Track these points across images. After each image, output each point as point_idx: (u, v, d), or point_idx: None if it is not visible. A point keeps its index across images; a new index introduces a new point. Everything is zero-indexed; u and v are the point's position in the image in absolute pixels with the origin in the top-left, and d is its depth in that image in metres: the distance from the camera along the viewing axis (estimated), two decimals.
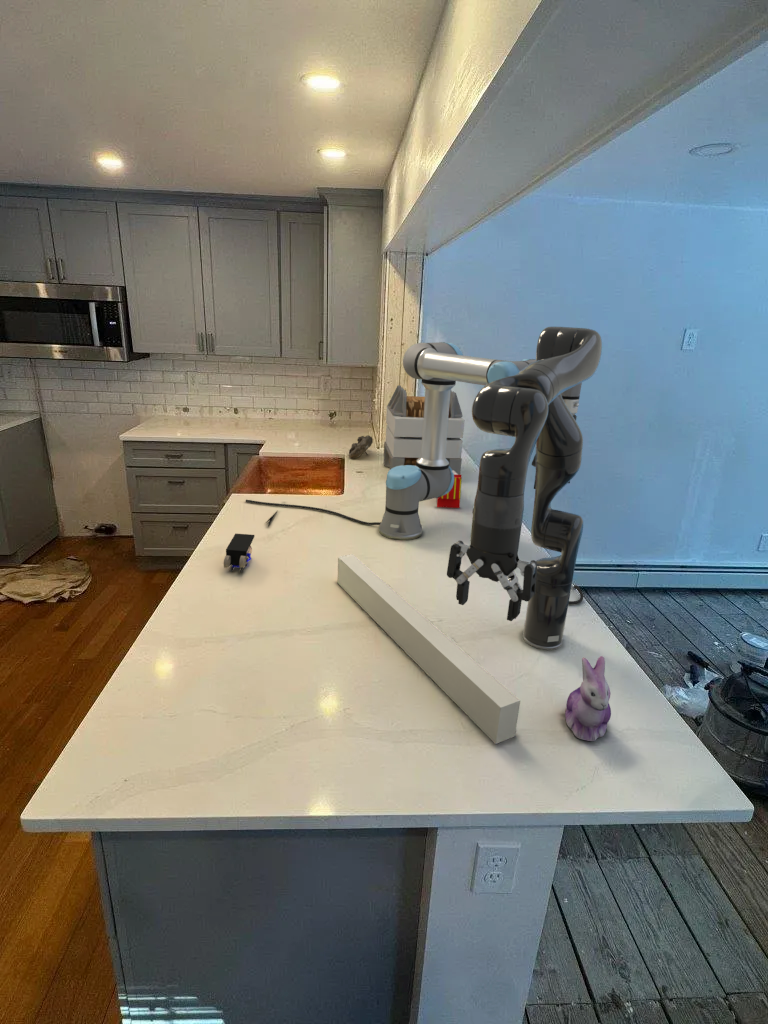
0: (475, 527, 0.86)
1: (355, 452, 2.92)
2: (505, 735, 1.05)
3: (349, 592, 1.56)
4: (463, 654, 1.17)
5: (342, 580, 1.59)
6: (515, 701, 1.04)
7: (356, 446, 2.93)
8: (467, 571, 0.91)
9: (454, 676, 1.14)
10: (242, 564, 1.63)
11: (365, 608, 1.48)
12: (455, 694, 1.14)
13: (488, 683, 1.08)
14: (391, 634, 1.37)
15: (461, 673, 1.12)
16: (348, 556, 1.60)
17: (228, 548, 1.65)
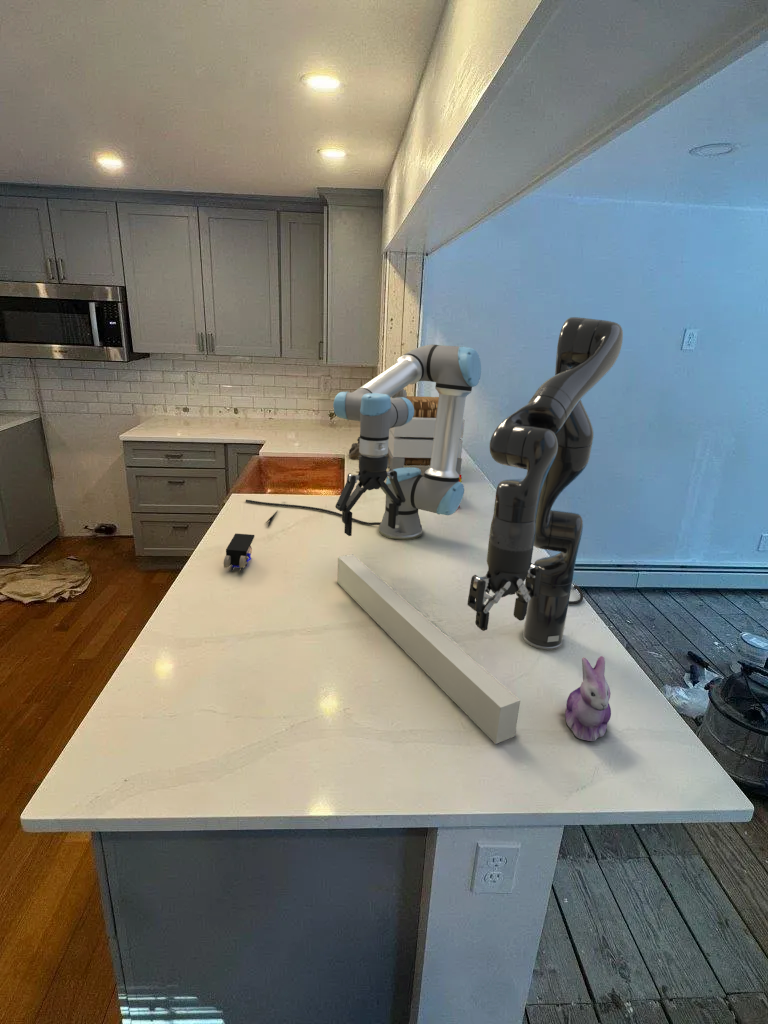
0: None
1: (355, 452, 2.92)
2: (505, 735, 1.05)
3: (349, 592, 1.56)
4: (463, 654, 1.17)
5: (342, 580, 1.59)
6: (515, 701, 1.04)
7: (356, 446, 2.93)
8: None
9: (454, 676, 1.14)
10: (242, 564, 1.63)
11: (365, 608, 1.48)
12: (455, 694, 1.14)
13: (488, 683, 1.08)
14: (391, 634, 1.37)
15: (461, 673, 1.12)
16: (348, 556, 1.60)
17: (228, 548, 1.65)
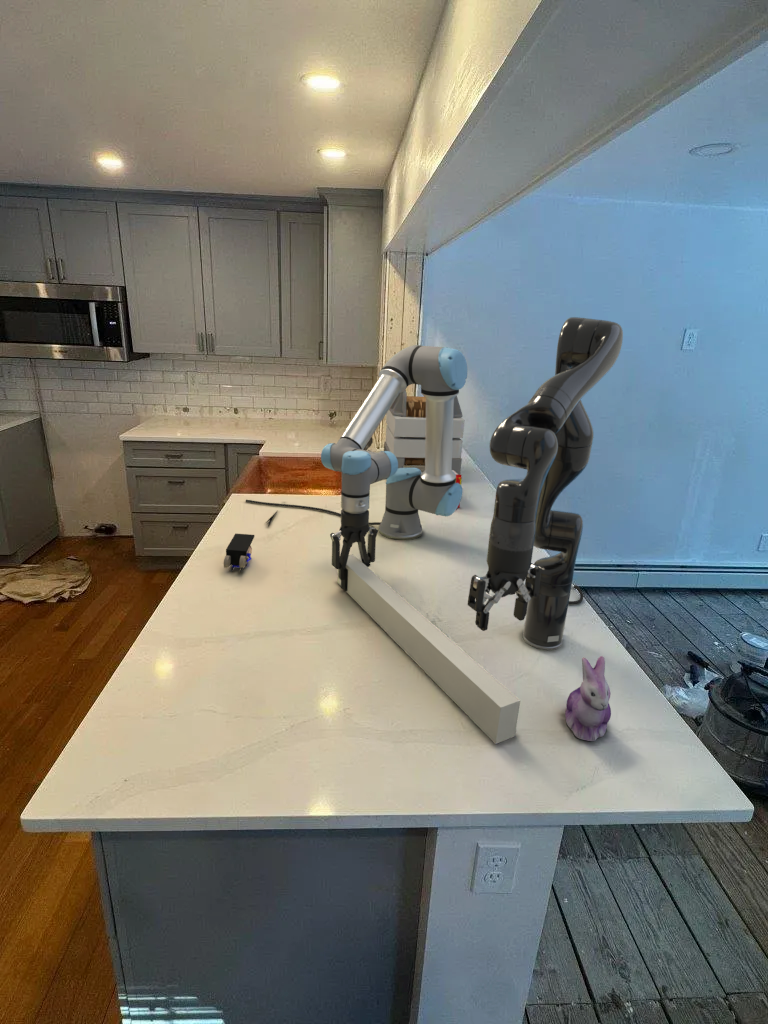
0: None
1: None
2: (505, 735, 1.05)
3: (349, 592, 1.56)
4: (463, 654, 1.17)
5: None
6: (515, 701, 1.04)
7: None
8: None
9: (454, 676, 1.14)
10: (242, 564, 1.63)
11: (365, 608, 1.48)
12: (455, 694, 1.14)
13: (488, 683, 1.08)
14: (391, 634, 1.37)
15: (461, 673, 1.12)
16: (348, 556, 1.60)
17: (228, 548, 1.65)
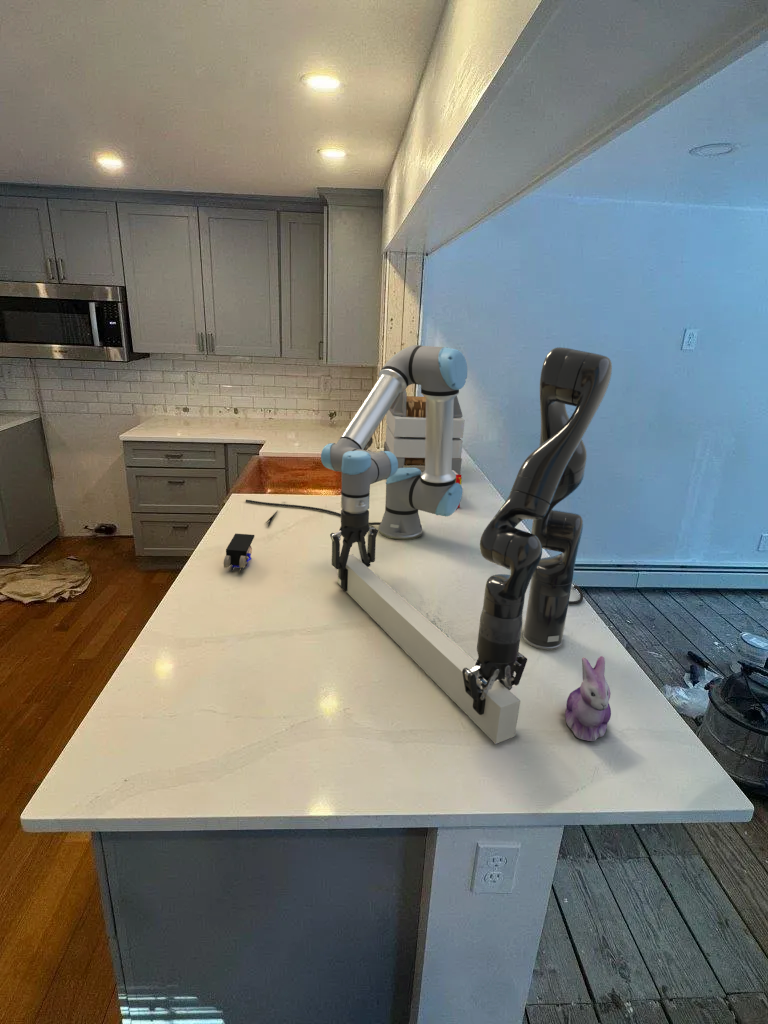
0: None
1: None
2: (505, 735, 1.05)
3: (349, 592, 1.56)
4: (463, 654, 1.17)
5: None
6: (515, 701, 1.04)
7: None
8: None
9: (454, 676, 1.14)
10: (242, 564, 1.63)
11: (365, 608, 1.48)
12: (455, 694, 1.14)
13: None
14: (391, 634, 1.37)
15: (461, 673, 1.12)
16: (348, 556, 1.60)
17: (228, 548, 1.65)
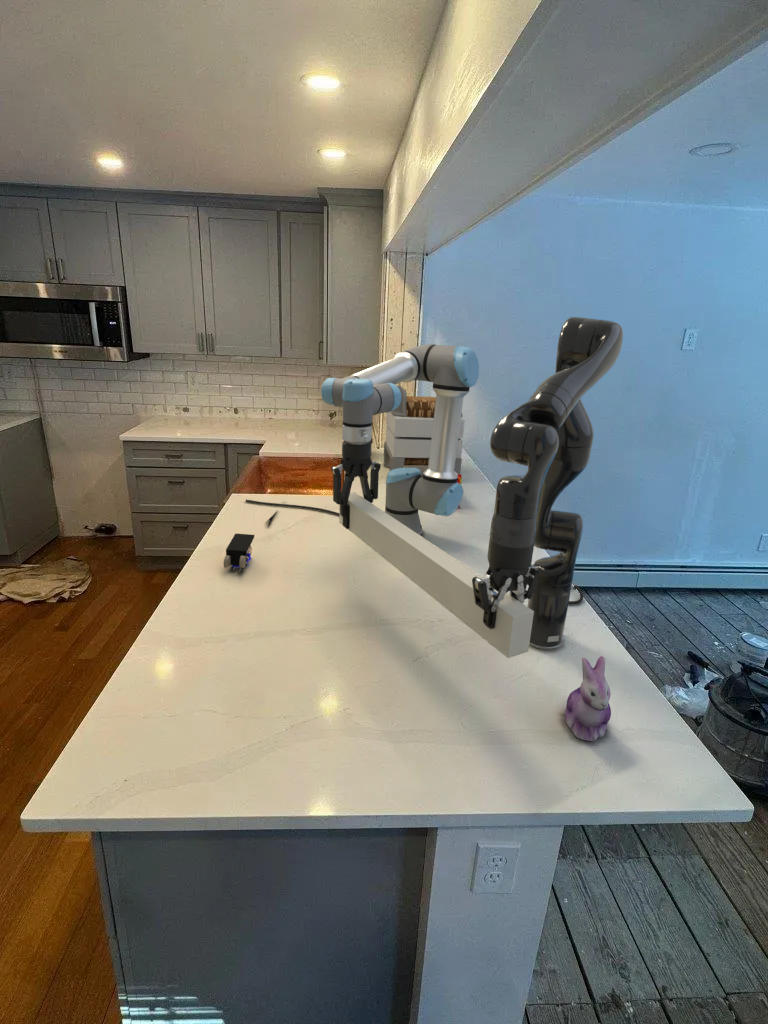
0: None
1: None
2: (518, 649, 0.99)
3: (352, 529, 1.50)
4: (472, 573, 1.11)
5: None
6: (528, 612, 0.98)
7: None
8: None
9: (463, 594, 1.08)
10: (242, 564, 1.63)
11: (368, 542, 1.42)
12: (464, 613, 1.09)
13: None
14: (395, 564, 1.31)
15: (470, 589, 1.06)
16: (350, 494, 1.54)
17: (228, 548, 1.65)
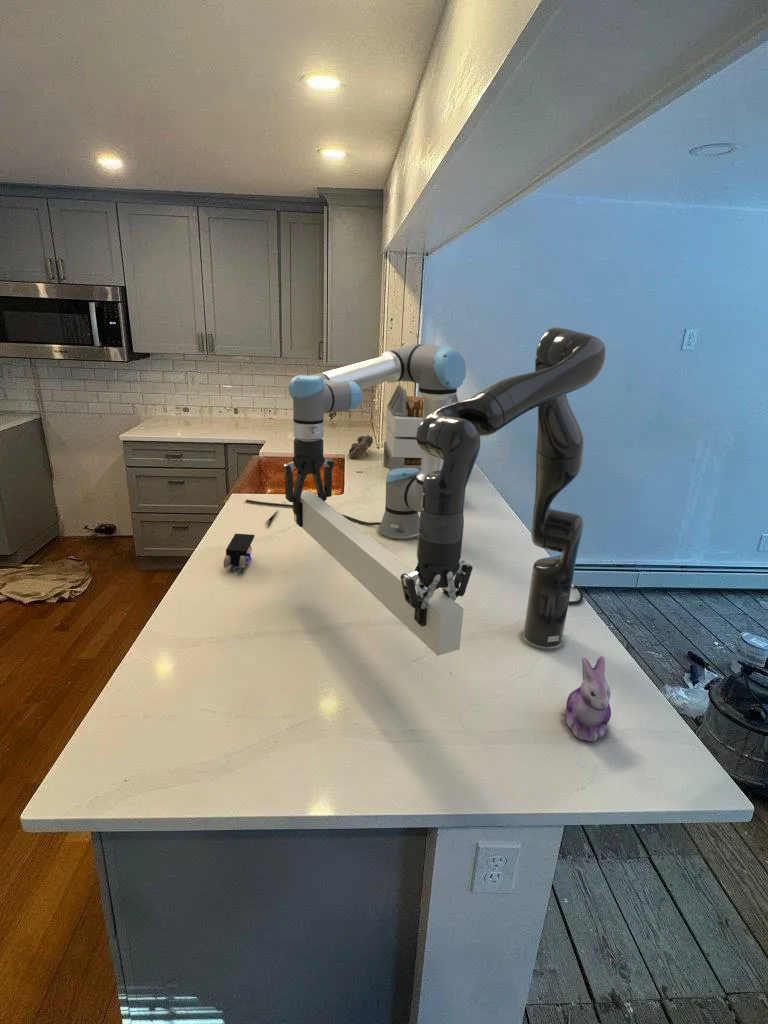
0: None
1: (355, 452, 2.92)
2: (448, 647, 0.98)
3: (304, 527, 1.49)
4: (409, 570, 1.10)
5: None
6: (458, 609, 0.97)
7: (356, 446, 2.93)
8: None
9: (398, 591, 1.07)
10: (242, 564, 1.63)
11: (318, 540, 1.41)
12: (400, 610, 1.07)
13: None
14: (341, 562, 1.30)
15: None
16: (304, 492, 1.53)
17: (228, 548, 1.65)
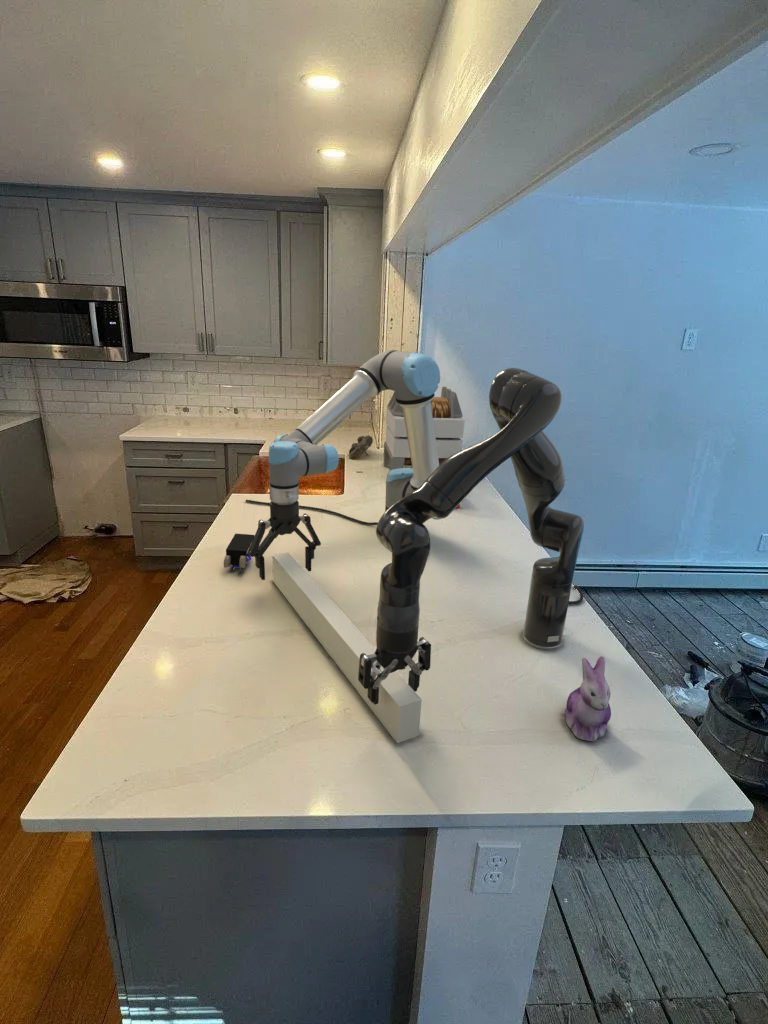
0: None
1: (355, 452, 2.92)
2: (408, 734, 1.04)
3: (282, 591, 1.55)
4: None
5: (276, 578, 1.58)
6: (416, 700, 1.03)
7: (356, 446, 2.93)
8: None
9: None
10: (242, 564, 1.63)
11: (294, 606, 1.47)
12: (365, 693, 1.14)
13: (393, 682, 1.07)
14: (314, 633, 1.36)
15: None
16: (283, 554, 1.59)
17: (228, 548, 1.65)
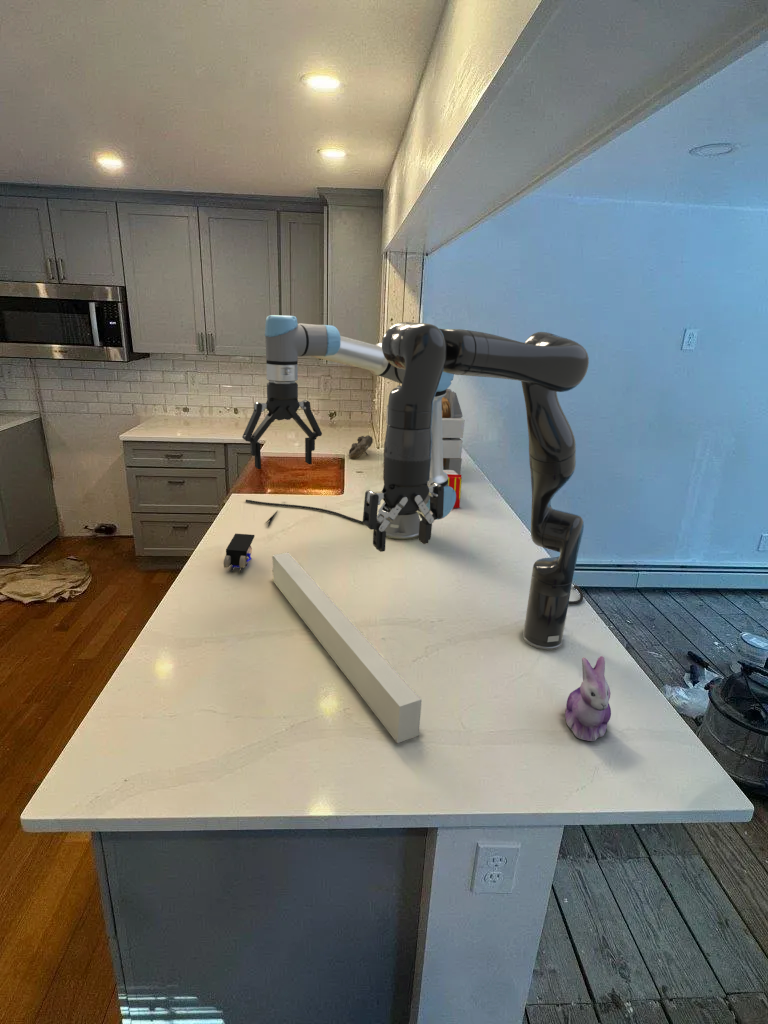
0: None
1: (355, 452, 2.92)
2: (408, 734, 1.04)
3: (282, 591, 1.55)
4: (375, 652, 1.16)
5: (276, 578, 1.58)
6: (416, 700, 1.03)
7: (356, 446, 2.93)
8: None
9: (364, 674, 1.13)
10: (242, 564, 1.63)
11: (294, 606, 1.47)
12: (365, 693, 1.14)
13: (393, 682, 1.07)
14: (314, 633, 1.36)
15: (369, 672, 1.11)
16: (283, 554, 1.59)
17: (228, 548, 1.65)
